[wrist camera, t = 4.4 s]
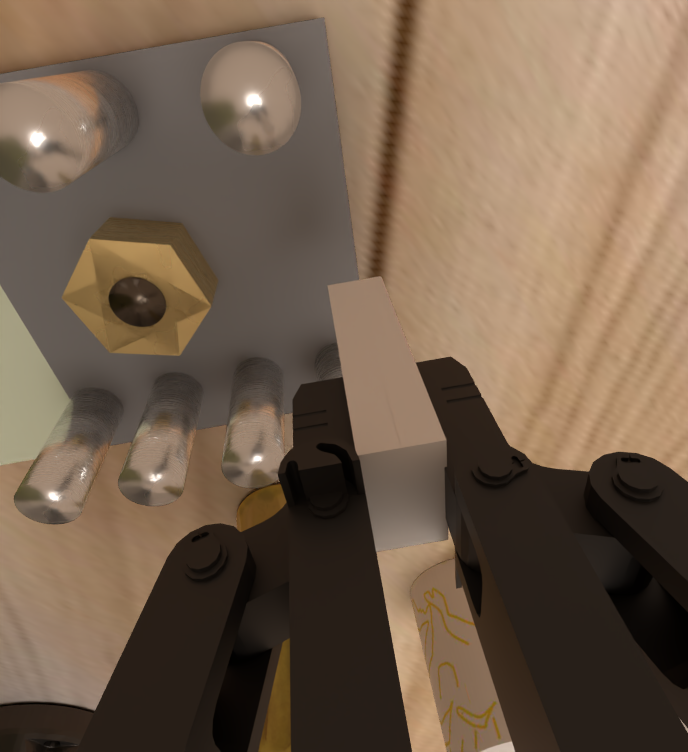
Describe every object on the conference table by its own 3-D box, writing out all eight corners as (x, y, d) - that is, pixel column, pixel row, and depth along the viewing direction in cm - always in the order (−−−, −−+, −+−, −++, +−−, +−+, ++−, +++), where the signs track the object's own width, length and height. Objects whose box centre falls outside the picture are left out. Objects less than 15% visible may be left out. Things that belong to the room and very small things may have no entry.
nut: (145, 345, 22) (130, 378, 20) (60, 241, 19) (32, 267, 17) (234, 305, 21) (229, 334, 19) (161, 191, 18) (146, 210, 16)
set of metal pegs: (84, 429, 24) (34, 528, 19) (-116, 105, 16) (-295, 134, 11) (366, 378, 24) (388, 464, 19) (317, 30, 16) (333, 25, 11)
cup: (433, 551, 37) (489, 736, 27) (523, 561, 39) (605, 736, 29) (395, 609, 41) (432, 787, 31) (478, 615, 43) (536, 783, 33)
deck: (-25, 446, 26) (-45, 473, 25) (-287, 125, 17) (-347, 134, 15) (368, 375, 27) (374, 397, 25) (320, 19, 17) (324, 17, 16)
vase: (224, 532, 33) (194, 802, 21) (254, 472, 30) (239, 747, 18) (307, 548, 35) (321, 802, 23) (343, 493, 32) (379, 753, 20)
